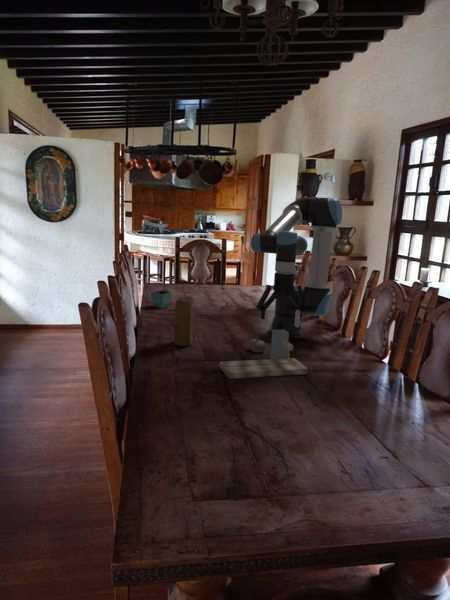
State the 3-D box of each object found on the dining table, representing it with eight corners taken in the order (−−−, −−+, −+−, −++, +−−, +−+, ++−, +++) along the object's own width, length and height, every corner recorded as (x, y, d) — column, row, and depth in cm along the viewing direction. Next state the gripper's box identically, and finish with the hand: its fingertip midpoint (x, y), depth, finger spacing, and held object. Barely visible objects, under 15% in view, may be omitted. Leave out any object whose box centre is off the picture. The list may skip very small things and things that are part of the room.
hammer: (282, 358, 182) (284, 329, 180) (295, 369, 170) (297, 338, 168) (270, 358, 181) (272, 329, 178) (282, 370, 169) (285, 339, 166)
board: (293, 362, 177) (294, 357, 177) (307, 373, 166) (307, 368, 165) (219, 366, 169) (219, 361, 169) (228, 378, 158) (228, 372, 157)
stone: (189, 347, 191) (191, 301, 187) (172, 346, 191) (173, 300, 187) (194, 340, 201) (195, 296, 197) (177, 339, 202) (178, 295, 198)
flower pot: (172, 307, 266) (172, 292, 264) (162, 309, 258) (162, 294, 256) (160, 305, 270) (160, 290, 268) (150, 307, 263) (150, 292, 261)
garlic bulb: (257, 347, 196) (258, 329, 194) (270, 351, 191) (271, 332, 189) (245, 350, 191) (246, 331, 189) (258, 354, 186) (259, 335, 184)
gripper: (310, 271, 179) (305, 324, 183) (250, 270, 172) (247, 325, 176) (319, 274, 172) (314, 328, 176) (256, 273, 165) (253, 329, 169)
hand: (280, 327), depth 176 cm, fingers open, 13 cm apart
